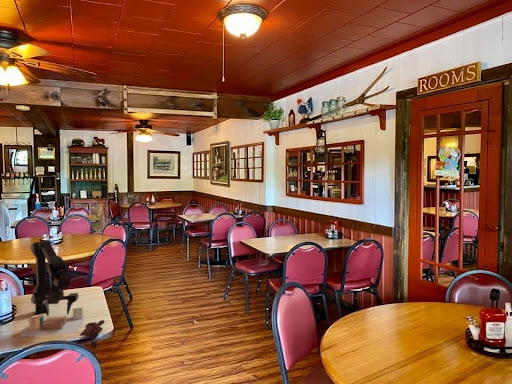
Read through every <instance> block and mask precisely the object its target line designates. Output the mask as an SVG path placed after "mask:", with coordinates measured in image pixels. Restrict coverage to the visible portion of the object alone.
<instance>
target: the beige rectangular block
mask: <svg viewBox="0 0 512 384" xmlns="http://www.w3.org/2000/svg"><path fill="white" fill-rule="evenodd" d="M83 306H84V305H83V304H77V305H73V307H72V316H73V320H76V319H83V315H84V307H83Z"/></svg>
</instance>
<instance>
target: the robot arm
mask: <svg viewBox="0 0 512 384" xmlns="http://www.w3.org/2000/svg"><path fill="white" fill-rule="evenodd" d="M30 251H31V254H32V255H33V257H34V258H35V267H36V268H35V272H36V284H35V286H34V287H33V293H31V294H32V295H31V298H30V300H31V303H32V304H33V305H35V308H34V309H35V310H34V312H33V313H32V314H33V315H32V316H36V315H44V314H46V316H47V317H50V315H49V314H50V308H49V306H50V305H58V304H59V303H60V301H67V302H66V305H67V306H66V315H68V316H69V314H70V310H71V307H72V305H73V304H74V303H75V302H77V301H78V299H79V296H80V295H79V293H78V292H72V293H71V292H70V293H69V294H68V295H65V292H64V290H66V289H68V288H69V287H70V285H71V281H70V279H69V278H68V277H66V276H67V275H68V271H69V269H68V267H67V264H66V261H64V259H63V258H62V256H58V255H57V253H56V251H55V250H54V247H53V246H52V242H51V240H49V239H47V240H41V241H38V242H36V241H35V242H33V243H32V244H31V245H30ZM46 261H47V264H46ZM47 273H48V274H49V280H50V281H49V282H50V286H49V285H48V284H47Z"/></svg>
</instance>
